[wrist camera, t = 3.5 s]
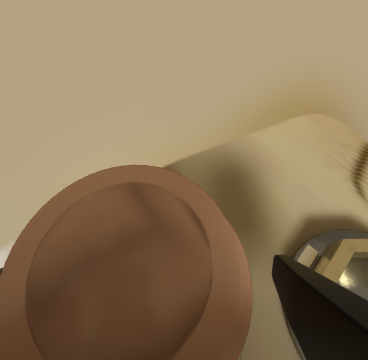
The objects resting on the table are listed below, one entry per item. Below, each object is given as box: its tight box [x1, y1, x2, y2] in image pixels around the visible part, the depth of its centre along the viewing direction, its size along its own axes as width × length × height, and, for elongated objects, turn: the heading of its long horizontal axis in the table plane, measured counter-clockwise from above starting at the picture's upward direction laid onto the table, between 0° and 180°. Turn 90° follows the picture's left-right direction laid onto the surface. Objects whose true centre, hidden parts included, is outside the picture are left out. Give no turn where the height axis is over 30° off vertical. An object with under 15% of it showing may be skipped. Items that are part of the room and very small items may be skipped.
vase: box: [0, 165, 252, 360], centre depth 8 cm, size 5×5×12 cm
